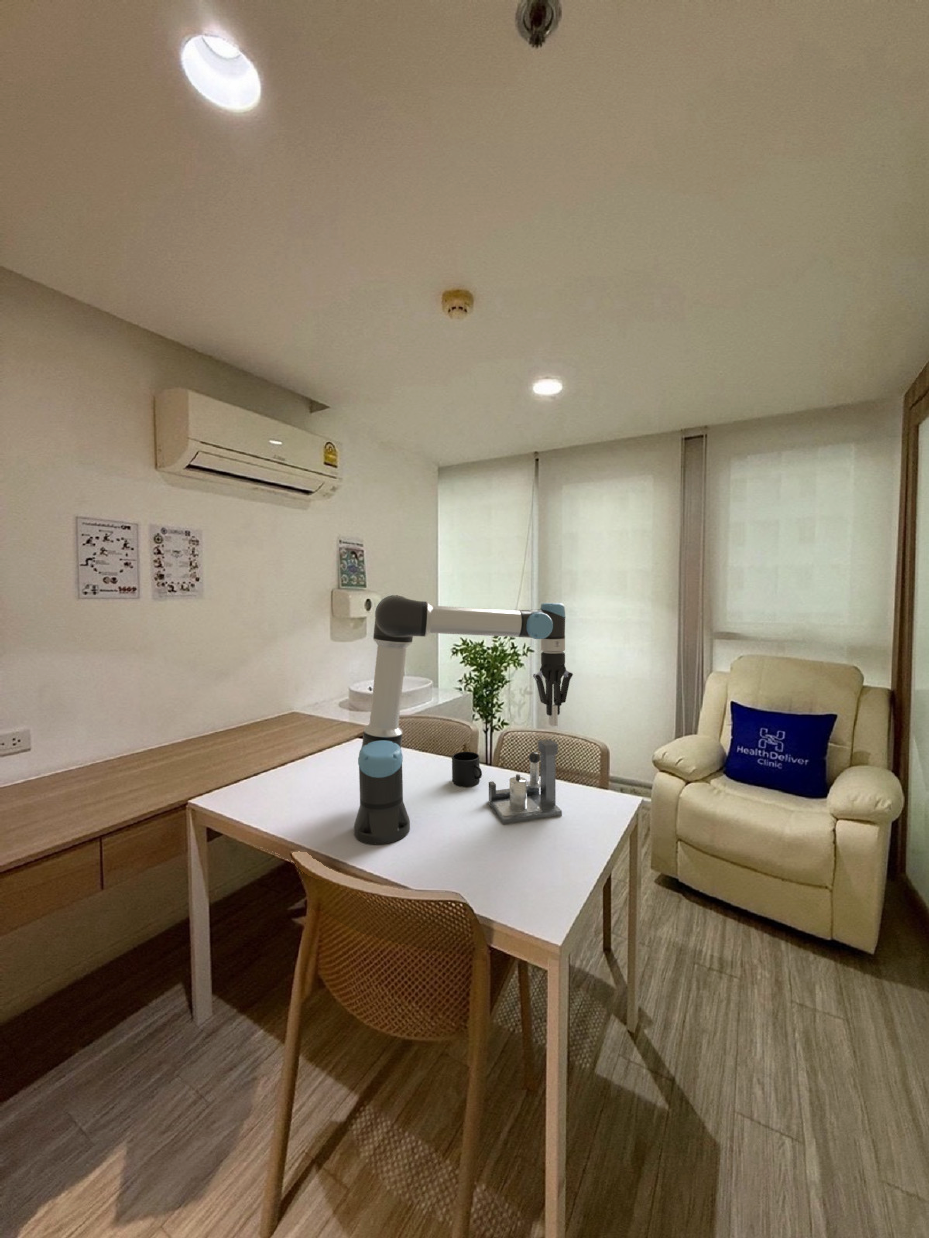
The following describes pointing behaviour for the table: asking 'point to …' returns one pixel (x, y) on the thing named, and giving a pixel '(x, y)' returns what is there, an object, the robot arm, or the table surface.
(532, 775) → the lever
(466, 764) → the mug
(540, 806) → the press
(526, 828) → the table surface
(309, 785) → the table surface
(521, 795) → the housing
